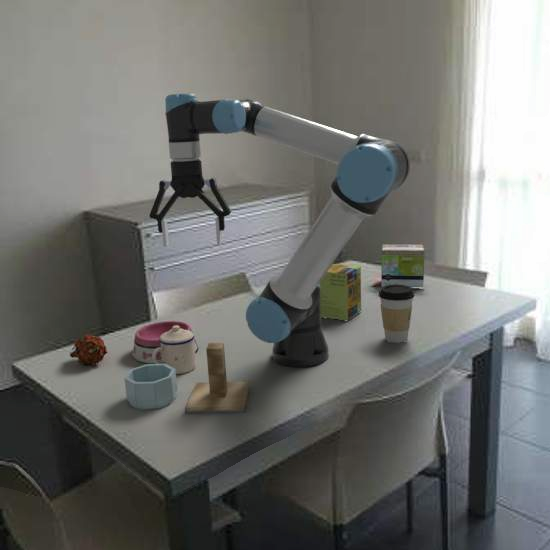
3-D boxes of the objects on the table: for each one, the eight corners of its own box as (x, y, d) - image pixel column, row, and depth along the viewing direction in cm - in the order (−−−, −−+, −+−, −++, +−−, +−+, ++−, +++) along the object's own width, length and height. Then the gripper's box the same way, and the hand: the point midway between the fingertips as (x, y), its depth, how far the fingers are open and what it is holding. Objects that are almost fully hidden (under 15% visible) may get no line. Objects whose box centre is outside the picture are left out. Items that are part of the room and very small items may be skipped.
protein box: (348, 322, 192) (347, 273, 188) (305, 315, 200) (303, 269, 196) (362, 312, 200) (361, 265, 196) (320, 306, 208) (318, 261, 204)
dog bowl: (159, 371, 162) (156, 346, 161) (119, 355, 175) (116, 332, 173) (211, 349, 175) (209, 326, 174) (170, 336, 188) (168, 314, 186)
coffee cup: (420, 337, 176) (421, 287, 172) (402, 348, 169) (402, 295, 165) (391, 330, 182) (391, 282, 178) (371, 340, 175) (371, 290, 171)
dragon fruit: (101, 374, 165) (80, 369, 174) (120, 349, 169) (98, 345, 178) (79, 356, 161) (58, 351, 169) (99, 330, 165) (78, 327, 173)
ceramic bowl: (180, 388, 151) (178, 363, 149) (170, 409, 140) (167, 383, 139) (136, 388, 152) (133, 364, 150) (123, 409, 141) (120, 383, 140)
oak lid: (249, 384, 150) (246, 335, 146) (243, 409, 137) (240, 356, 134) (196, 385, 151) (192, 336, 147) (186, 410, 138) (181, 357, 135)
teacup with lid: (185, 358, 169) (181, 318, 166) (203, 367, 162) (200, 326, 159) (146, 371, 162) (141, 329, 159) (163, 381, 155) (158, 338, 152)
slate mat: (249, 386, 150) (249, 384, 150) (243, 412, 137) (243, 409, 137) (196, 387, 151) (196, 385, 151) (186, 413, 138) (185, 410, 138)
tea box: (381, 289, 223) (381, 249, 220) (381, 282, 233) (381, 243, 229) (424, 289, 221) (424, 249, 217) (422, 282, 230) (422, 243, 227)
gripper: (238, 156, 154) (243, 239, 159) (139, 160, 155) (148, 242, 161) (234, 158, 146) (240, 245, 152) (131, 163, 148) (140, 249, 154)
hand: (192, 244), depth 156 cm, fingers open, 13 cm apart
